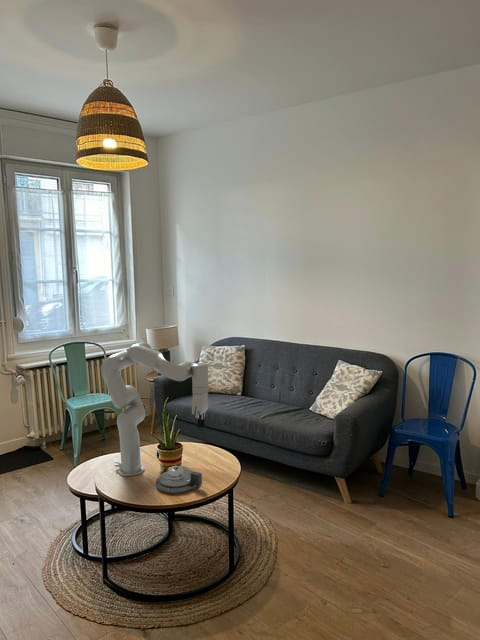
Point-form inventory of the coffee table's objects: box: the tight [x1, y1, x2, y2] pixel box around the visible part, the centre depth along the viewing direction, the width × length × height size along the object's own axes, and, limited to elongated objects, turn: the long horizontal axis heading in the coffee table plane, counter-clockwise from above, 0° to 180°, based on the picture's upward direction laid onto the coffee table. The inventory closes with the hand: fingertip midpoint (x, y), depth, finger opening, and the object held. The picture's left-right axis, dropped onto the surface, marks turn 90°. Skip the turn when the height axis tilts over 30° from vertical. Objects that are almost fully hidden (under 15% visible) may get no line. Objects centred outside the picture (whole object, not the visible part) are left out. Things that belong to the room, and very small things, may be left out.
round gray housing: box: [158, 468, 203, 488], centre depth 221 cm, size 20×17×5 cm
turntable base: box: [155, 477, 199, 495], centre depth 222 cm, size 20×20×2 cm
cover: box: [167, 465, 184, 481], centre depth 221 cm, size 8×8×4 cm
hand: (201, 426), depth 227 cm, fingers closed
